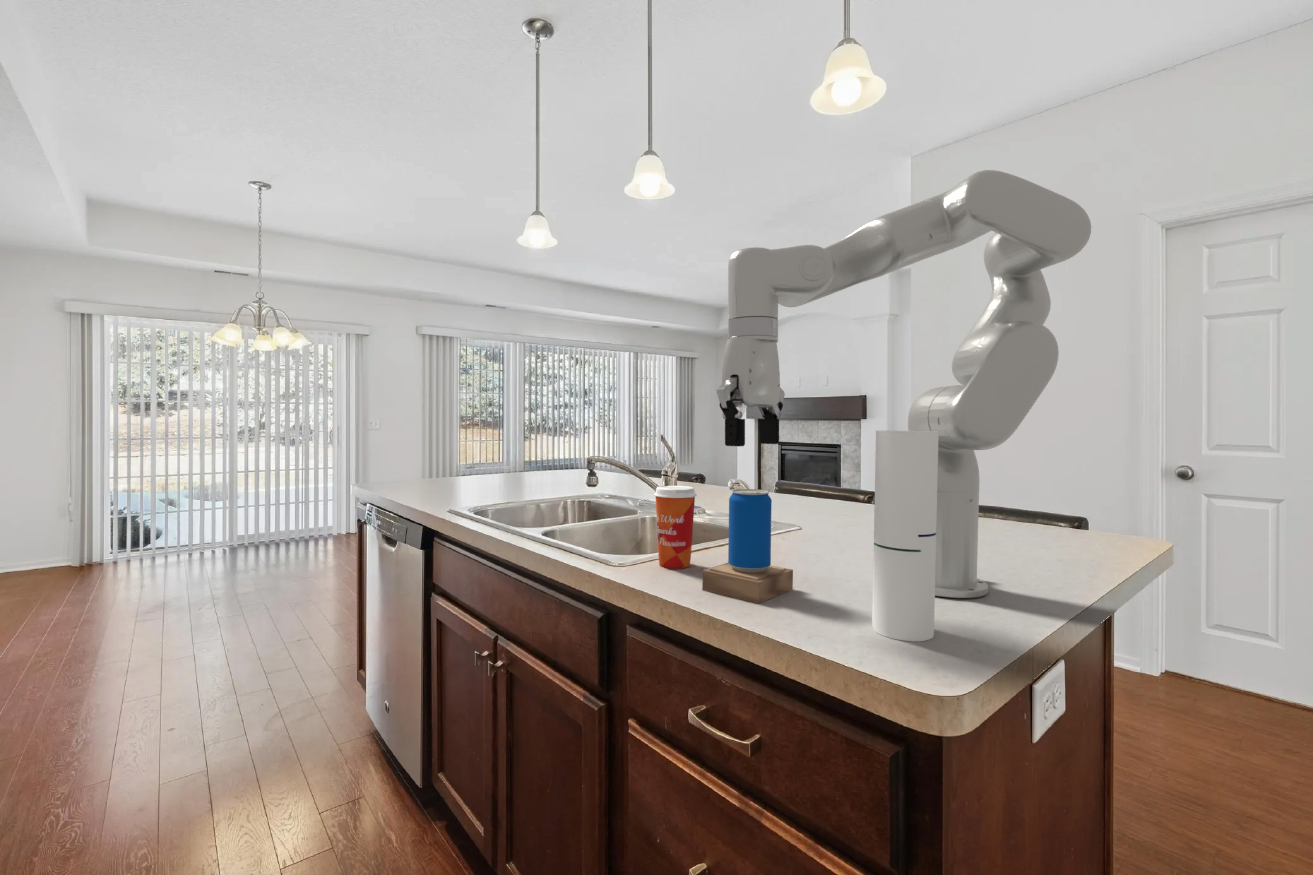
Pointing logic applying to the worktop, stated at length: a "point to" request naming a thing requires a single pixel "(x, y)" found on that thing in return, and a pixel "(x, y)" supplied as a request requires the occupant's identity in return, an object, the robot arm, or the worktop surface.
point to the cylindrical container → (905, 534)
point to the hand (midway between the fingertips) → (752, 444)
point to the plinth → (748, 582)
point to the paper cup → (675, 525)
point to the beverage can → (749, 530)
